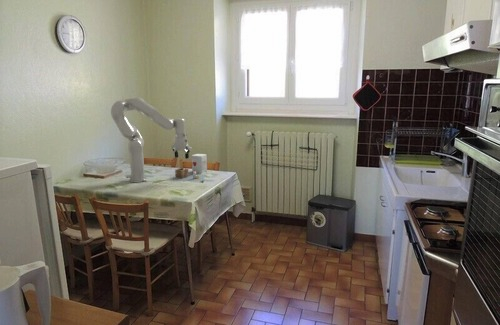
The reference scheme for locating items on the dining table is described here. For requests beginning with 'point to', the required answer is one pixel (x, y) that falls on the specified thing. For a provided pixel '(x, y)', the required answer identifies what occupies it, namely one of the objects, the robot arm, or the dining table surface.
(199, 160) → the supplement box
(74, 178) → the dining table surface
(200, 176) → the post board
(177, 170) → the collar
